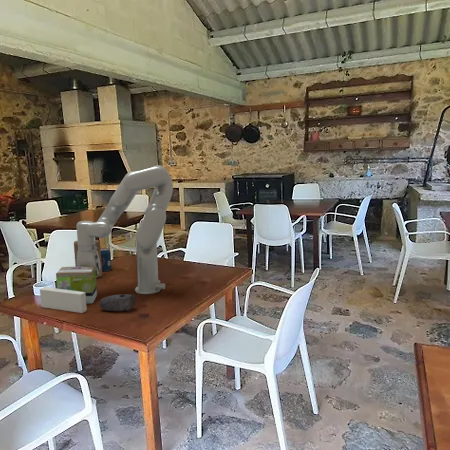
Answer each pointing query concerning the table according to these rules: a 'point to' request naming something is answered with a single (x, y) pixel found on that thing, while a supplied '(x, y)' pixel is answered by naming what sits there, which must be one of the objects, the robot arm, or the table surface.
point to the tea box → (78, 280)
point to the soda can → (105, 259)
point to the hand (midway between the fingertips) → (89, 286)
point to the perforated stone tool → (118, 302)
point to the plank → (63, 299)
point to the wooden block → (97, 243)
